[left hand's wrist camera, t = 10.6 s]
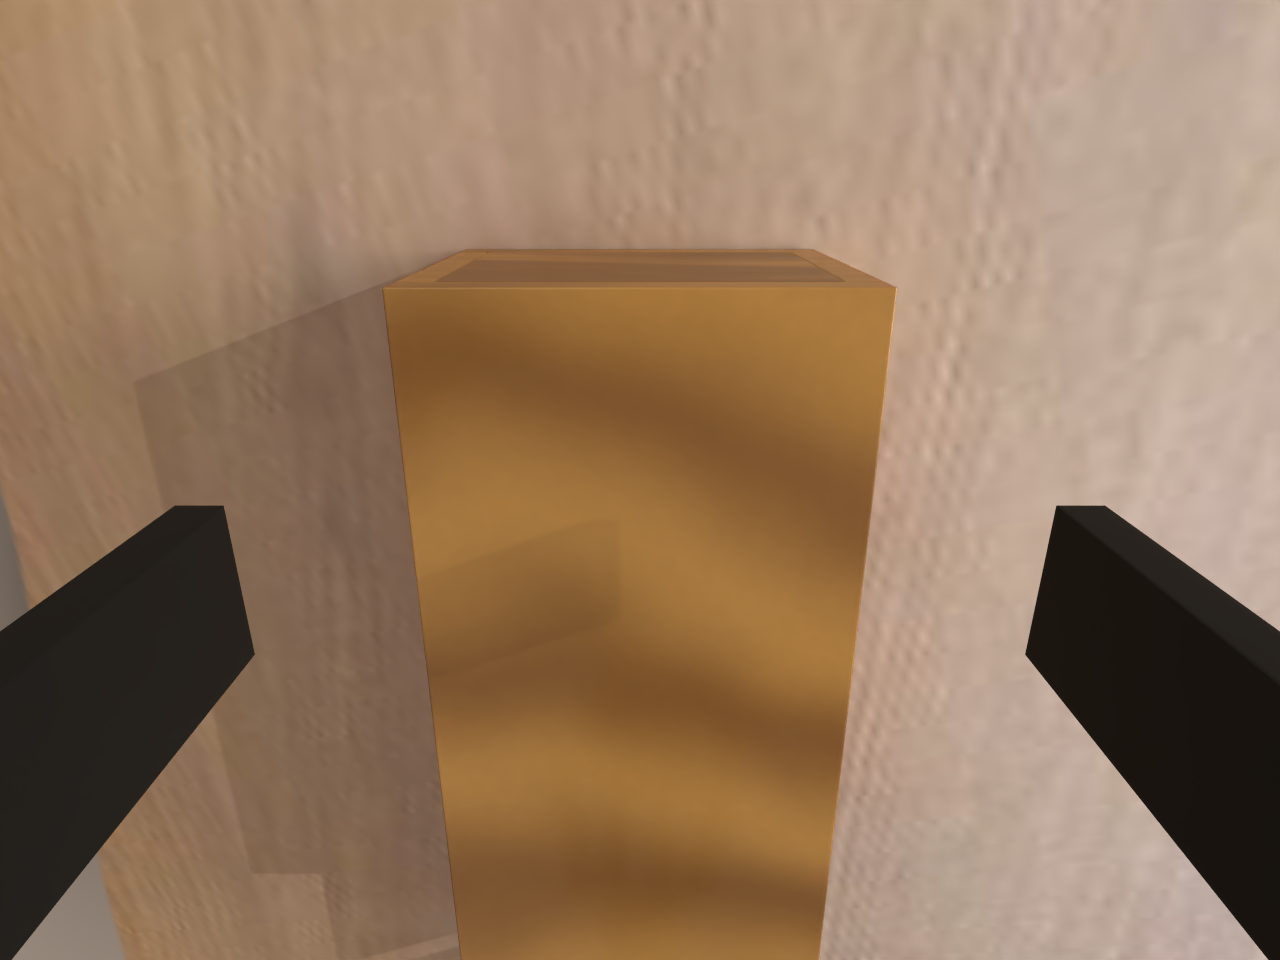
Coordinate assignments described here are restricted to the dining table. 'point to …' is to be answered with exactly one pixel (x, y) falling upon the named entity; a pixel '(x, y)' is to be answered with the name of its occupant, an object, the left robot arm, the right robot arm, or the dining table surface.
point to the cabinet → (639, 585)
